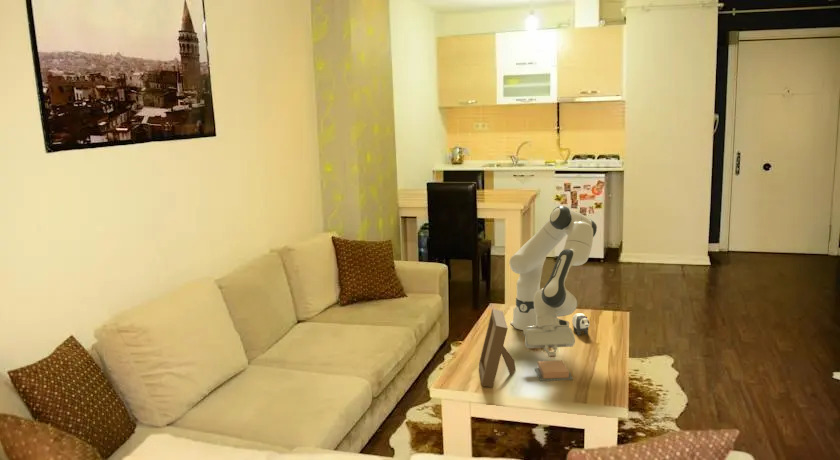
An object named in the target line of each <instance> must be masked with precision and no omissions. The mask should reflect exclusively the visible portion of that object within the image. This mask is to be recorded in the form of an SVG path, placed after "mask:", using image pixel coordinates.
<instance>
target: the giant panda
mask: <svg viewBox="0 0 840 460" xmlns="http://www.w3.org/2000/svg"><path fill="white" fill-rule="evenodd" d="M571 323H572V326H573V331H574V332H576V335H577V336H582V332H583V335H584V336H588V335H589V327H590V321H589V319H588V317H587V316H586V315H585V314H584V313H581V312H579V313H574V315H573V316H572V322H571Z"/></svg>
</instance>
